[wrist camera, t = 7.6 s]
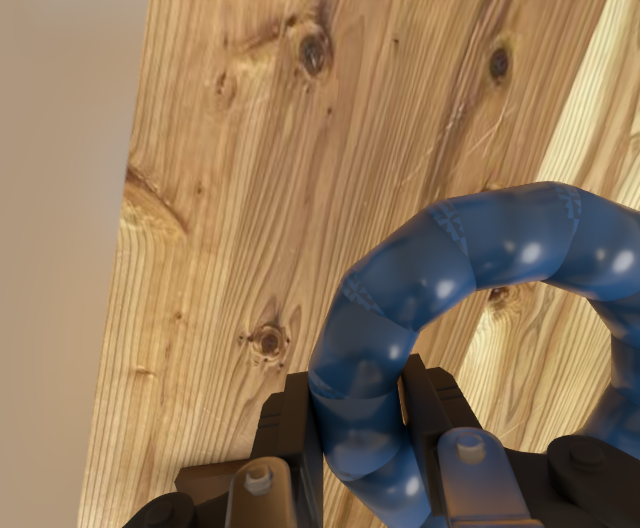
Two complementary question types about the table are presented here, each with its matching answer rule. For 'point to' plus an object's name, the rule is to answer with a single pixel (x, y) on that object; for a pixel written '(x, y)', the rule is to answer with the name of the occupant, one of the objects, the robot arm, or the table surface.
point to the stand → (207, 480)
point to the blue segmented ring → (445, 293)
